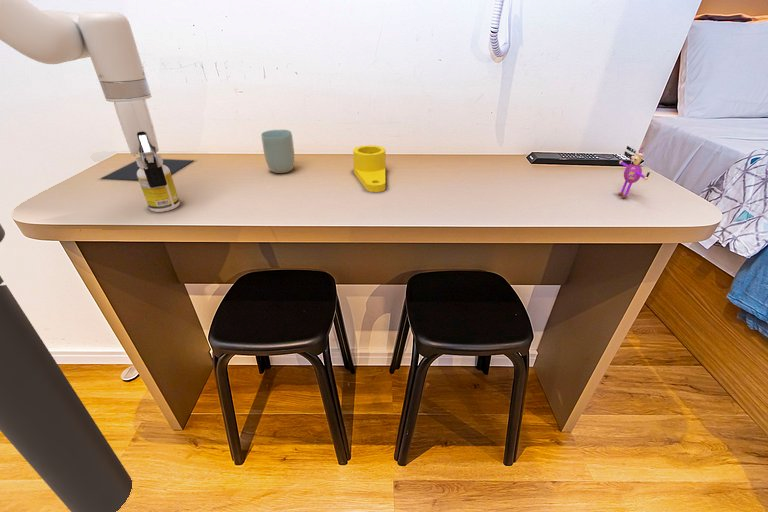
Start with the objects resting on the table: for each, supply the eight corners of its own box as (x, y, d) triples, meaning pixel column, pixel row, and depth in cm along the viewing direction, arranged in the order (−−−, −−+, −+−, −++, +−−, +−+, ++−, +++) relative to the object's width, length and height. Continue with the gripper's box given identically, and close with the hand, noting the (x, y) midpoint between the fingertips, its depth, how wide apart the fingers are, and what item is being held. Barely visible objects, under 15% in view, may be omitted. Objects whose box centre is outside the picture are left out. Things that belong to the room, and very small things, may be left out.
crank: (352, 167, 106) (351, 146, 103) (382, 166, 107) (382, 144, 104) (359, 193, 91) (358, 168, 88) (394, 191, 92) (394, 166, 89)
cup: (294, 164, 108) (290, 128, 103) (298, 174, 102) (293, 136, 97) (266, 167, 106) (260, 130, 101) (268, 177, 100) (261, 138, 95)
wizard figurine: (605, 187, 95) (622, 138, 88) (618, 187, 95) (636, 138, 88) (630, 207, 85) (650, 153, 79) (644, 207, 85) (666, 153, 79)
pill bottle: (168, 198, 88) (152, 151, 82) (186, 204, 86) (172, 155, 80) (142, 209, 84) (124, 159, 78) (161, 215, 81) (144, 164, 75)
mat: (101, 178, 99) (101, 178, 99) (141, 159, 112) (141, 158, 112) (160, 181, 97) (159, 180, 97) (193, 161, 111) (193, 160, 111)
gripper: (102, 85, 76) (132, 171, 86) (104, 99, 64) (140, 198, 73) (144, 82, 80) (169, 165, 89) (154, 95, 68) (182, 189, 77)
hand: (156, 179), depth 81 cm, fingers open, 7 cm apart
